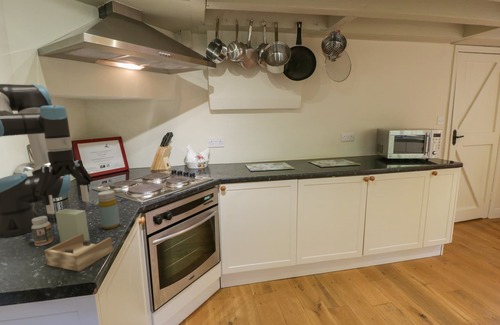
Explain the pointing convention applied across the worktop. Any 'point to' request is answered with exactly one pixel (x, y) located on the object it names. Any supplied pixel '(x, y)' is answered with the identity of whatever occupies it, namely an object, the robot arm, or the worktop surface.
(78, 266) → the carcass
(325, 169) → the worktop surface
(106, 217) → the bottle
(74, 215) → the door
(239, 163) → the worktop surface
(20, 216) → the robot arm
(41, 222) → the pill bottle
